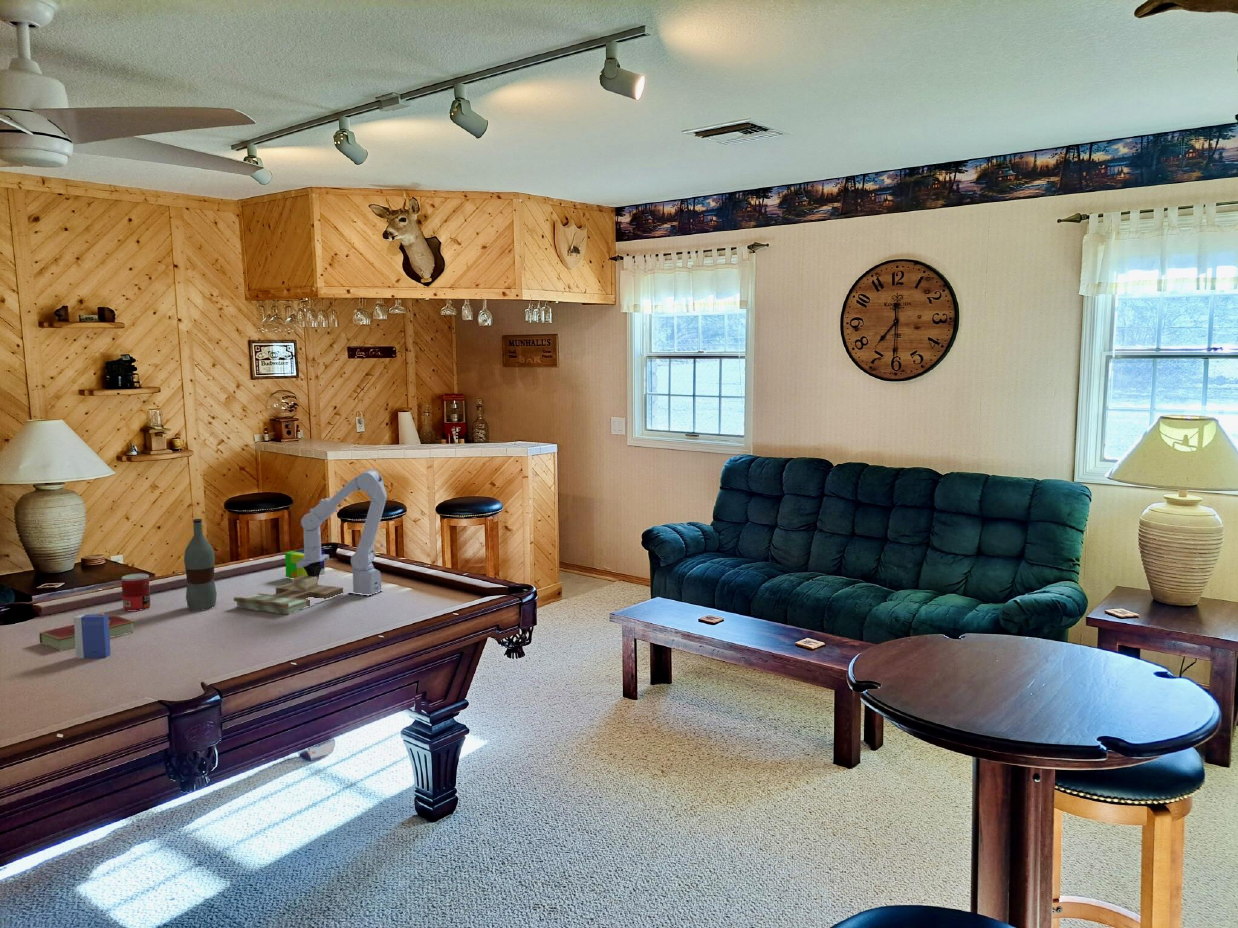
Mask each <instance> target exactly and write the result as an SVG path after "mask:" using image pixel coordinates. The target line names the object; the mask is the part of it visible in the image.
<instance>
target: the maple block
mask: <svg viewBox="0 0 1238 928" xmlns="http://www.w3.org/2000/svg"><path fill="white" fill-rule="evenodd" d="M291 583H292V590H293V591H302V592H308V591H311V590H313V589H316V588H318V585H319V584H318V583H319V578H318V577H314V576H305V575H304V576H300V577H297V578H294V579H291Z"/></svg>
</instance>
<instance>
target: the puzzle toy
mask: <svg viewBox="0 0 1238 928" xmlns="http://www.w3.org/2000/svg"><path fill="white" fill-rule="evenodd" d="M323 554H325V551H324V550H321V555H323ZM303 558H304V548H303V549H302V548H301V549H297V550H293V551H288V552H285V553H284V560H285V578H286V577H289V578H297V577H300V576H304V575H305V576H308V575H307V573H306V571H305V569H304V568H297V566H296V562H299V561H301V560H303ZM320 563H323V567H322V569H321V572H320V574H319V575H323V574H325V573H326V571H325V570H326V568H325V560H324V561H321V562H320ZM325 575H326V574H325Z"/></svg>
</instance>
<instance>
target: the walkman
mask: <svg viewBox="0 0 1238 928" xmlns="http://www.w3.org/2000/svg"><path fill="white" fill-rule="evenodd" d="M108 617H109V614H107V613H104V612H103V613H102V612H100V613H98V614H96V613H95V614H78V615H77V616H76V615H75V616H74V617H73V625H74V629H75V646H76V647H75V658H76V659H97V658H98V659H99V658H101V659H102V658H103V659H105V658H107V657H109V656H110V655H111V653H112V651H111V641H110V639H111V638H110V636H109V620H108Z"/></svg>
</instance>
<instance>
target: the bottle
mask: <svg viewBox="0 0 1238 928" xmlns="http://www.w3.org/2000/svg"><path fill="white" fill-rule="evenodd" d="M192 522H193V536H192V538H191V540H190V541H189V542H188V545H187V546H186V547H185V550H184V554H183V555H184V556H183V557H184V558H183V563H184V569H185V574H186V575H185V576H186V583H187V584H186V591H185V592H186V594H185V600H186V604H187V608H188V610H189V609H191V610H190V611H194V610H200V611H203V610H202V609H208V610H210V608H211V609H213V608H212V607H214V606H215V607H216V603H217V596H218V595H217V589H216V584H215V564H216V563H215V562H216V557H215V551H214V548H213V546H212V545H211V542H209V541H208V539H207V538H206V537H205V536H204V534H203V519H202V518H194V519H192ZM215 607H214V608H215Z"/></svg>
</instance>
